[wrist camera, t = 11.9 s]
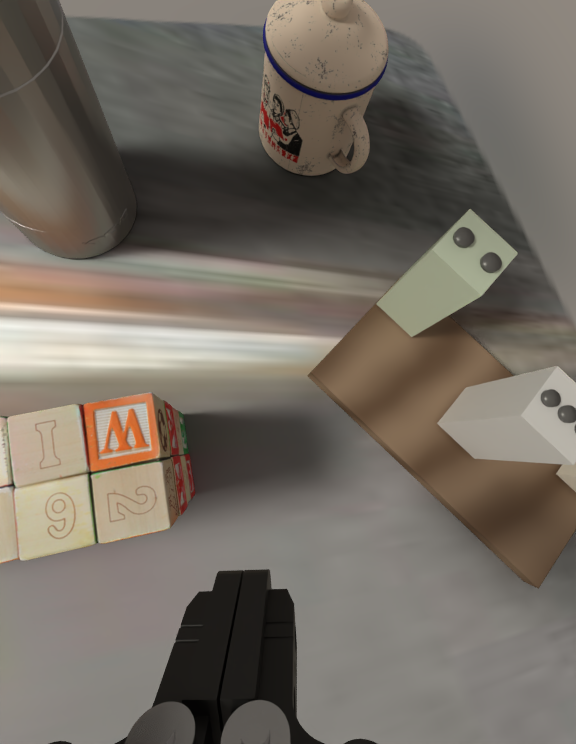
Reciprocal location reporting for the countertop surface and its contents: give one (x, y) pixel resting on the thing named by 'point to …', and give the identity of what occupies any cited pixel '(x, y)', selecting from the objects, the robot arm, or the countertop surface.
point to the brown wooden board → (436, 447)
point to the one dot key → (568, 475)
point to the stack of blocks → (91, 475)
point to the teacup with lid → (319, 83)
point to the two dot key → (448, 275)
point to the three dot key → (517, 418)
